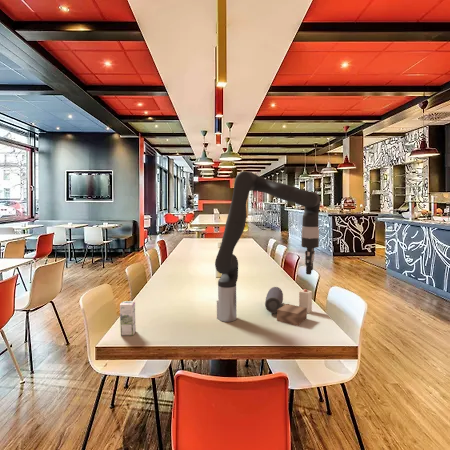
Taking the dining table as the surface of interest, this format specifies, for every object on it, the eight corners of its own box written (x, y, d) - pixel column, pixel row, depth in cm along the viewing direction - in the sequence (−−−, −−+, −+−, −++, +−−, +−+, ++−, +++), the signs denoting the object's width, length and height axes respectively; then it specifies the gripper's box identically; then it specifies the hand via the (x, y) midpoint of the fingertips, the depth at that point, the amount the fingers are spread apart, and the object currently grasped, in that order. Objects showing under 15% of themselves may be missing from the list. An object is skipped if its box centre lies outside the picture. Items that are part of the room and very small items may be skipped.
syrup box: (136, 330, 161) (135, 300, 160) (133, 335, 155) (132, 304, 154) (123, 331, 161) (122, 300, 160) (120, 336, 155) (119, 304, 154)
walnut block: (277, 321, 172) (277, 309, 172) (286, 315, 181) (286, 304, 181) (297, 326, 166) (297, 313, 165) (306, 319, 175) (306, 307, 174)
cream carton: (299, 311, 186) (299, 289, 185) (303, 309, 190) (303, 287, 189) (307, 313, 183) (308, 291, 182) (311, 311, 187) (311, 289, 186)
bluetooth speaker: (282, 316, 179) (282, 297, 179) (264, 314, 181) (264, 296, 181) (283, 303, 202) (283, 286, 201) (267, 302, 204) (267, 285, 203)
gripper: (303, 234, 162) (302, 268, 164) (299, 238, 149) (299, 275, 150) (319, 235, 160) (319, 269, 161) (317, 238, 146) (317, 276, 148)
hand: (309, 272), depth 156 cm, fingers open, 8 cm apart
